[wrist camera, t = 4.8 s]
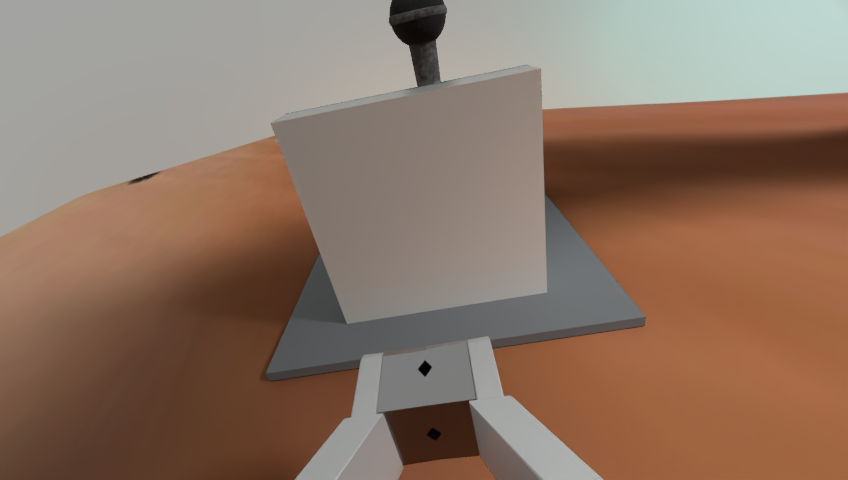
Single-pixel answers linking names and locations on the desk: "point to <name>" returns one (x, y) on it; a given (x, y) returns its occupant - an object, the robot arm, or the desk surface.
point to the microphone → (420, 34)
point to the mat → (460, 313)
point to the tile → (425, 193)
